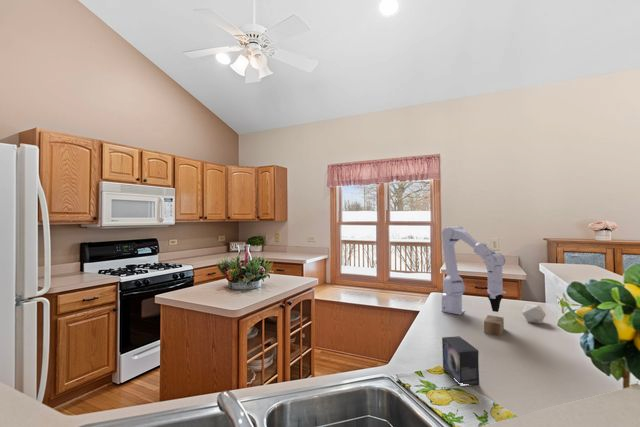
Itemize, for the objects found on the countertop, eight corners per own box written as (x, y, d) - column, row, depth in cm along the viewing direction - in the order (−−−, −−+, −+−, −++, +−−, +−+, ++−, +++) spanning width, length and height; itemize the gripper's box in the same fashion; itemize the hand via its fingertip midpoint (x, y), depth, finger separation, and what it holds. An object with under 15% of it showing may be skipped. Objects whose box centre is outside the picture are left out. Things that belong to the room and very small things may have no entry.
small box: (441, 368, 96) (440, 336, 96) (460, 367, 97) (459, 335, 97) (459, 387, 85) (458, 351, 86) (480, 385, 86) (479, 350, 86)
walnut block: (488, 325, 132) (484, 332, 124) (488, 314, 132) (484, 321, 124) (503, 328, 128) (500, 336, 121) (503, 317, 128) (500, 324, 121)
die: (543, 321, 138) (528, 302, 143) (554, 318, 130) (538, 298, 135) (528, 328, 137) (514, 309, 142) (538, 325, 129) (523, 305, 134)
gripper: (503, 285, 122) (504, 317, 122) (507, 278, 134) (508, 308, 134) (484, 282, 127) (484, 314, 127) (489, 277, 138) (490, 305, 138)
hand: (495, 311), depth 130 cm, fingers closed
